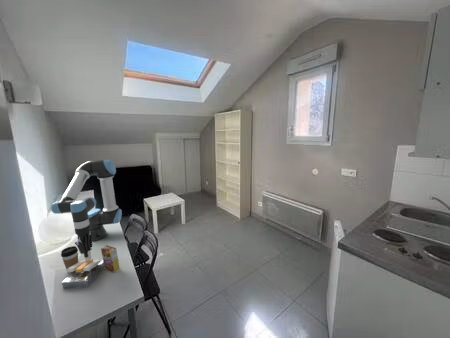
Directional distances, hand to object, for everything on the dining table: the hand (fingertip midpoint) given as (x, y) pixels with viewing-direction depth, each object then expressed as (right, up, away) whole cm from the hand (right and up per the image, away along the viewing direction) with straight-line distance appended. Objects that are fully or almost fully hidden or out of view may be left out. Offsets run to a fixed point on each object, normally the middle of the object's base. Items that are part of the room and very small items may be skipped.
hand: (88, 260), depth 121 cm
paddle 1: (-4, -1, -4) cm, 6 cm away
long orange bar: (0, -1, -3) cm, 4 cm away
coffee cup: (-12, -8, +3) cm, 14 cm away
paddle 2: (+5, -1, -3) cm, 6 cm away
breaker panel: (0, -8, -3) cm, 9 cm away
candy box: (+13, -7, +3) cm, 15 cm away
